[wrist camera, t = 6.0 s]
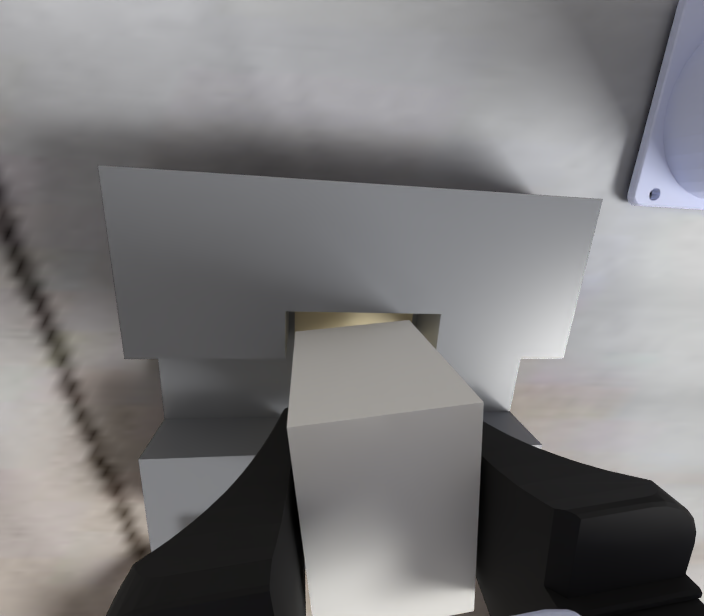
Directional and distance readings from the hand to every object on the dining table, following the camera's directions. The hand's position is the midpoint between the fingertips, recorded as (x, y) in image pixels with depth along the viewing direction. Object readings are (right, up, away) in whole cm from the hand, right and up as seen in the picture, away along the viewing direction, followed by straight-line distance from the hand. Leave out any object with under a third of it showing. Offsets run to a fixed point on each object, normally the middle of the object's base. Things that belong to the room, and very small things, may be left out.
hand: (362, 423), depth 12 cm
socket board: (-1, +1, +4) cm, 4 cm away
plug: (0, +1, +2) cm, 2 cm away
